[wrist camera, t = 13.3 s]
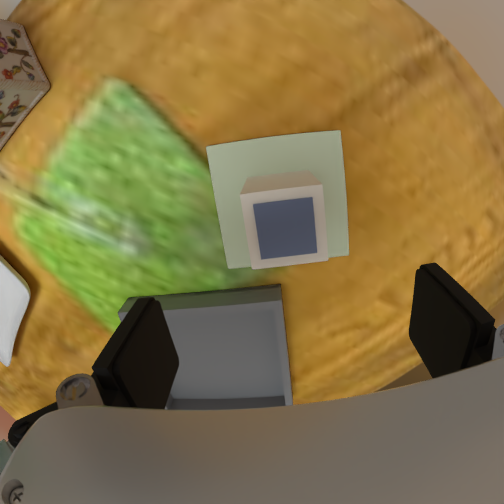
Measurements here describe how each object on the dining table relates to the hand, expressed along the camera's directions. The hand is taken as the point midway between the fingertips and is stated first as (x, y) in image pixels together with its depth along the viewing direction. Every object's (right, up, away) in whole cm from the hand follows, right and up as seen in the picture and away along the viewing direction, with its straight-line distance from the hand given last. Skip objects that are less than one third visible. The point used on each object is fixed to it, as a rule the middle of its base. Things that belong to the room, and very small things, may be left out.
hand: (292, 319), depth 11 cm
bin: (-5, -9, +23) cm, 25 cm away
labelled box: (+1, +6, +15) cm, 16 cm away
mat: (+1, +7, +16) cm, 17 cm away
